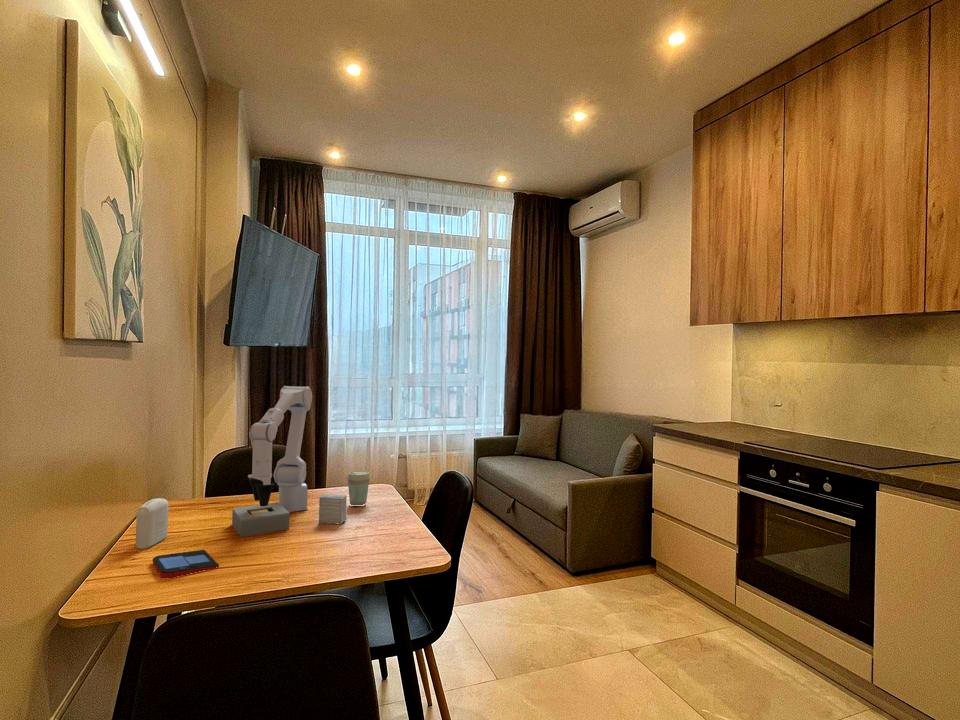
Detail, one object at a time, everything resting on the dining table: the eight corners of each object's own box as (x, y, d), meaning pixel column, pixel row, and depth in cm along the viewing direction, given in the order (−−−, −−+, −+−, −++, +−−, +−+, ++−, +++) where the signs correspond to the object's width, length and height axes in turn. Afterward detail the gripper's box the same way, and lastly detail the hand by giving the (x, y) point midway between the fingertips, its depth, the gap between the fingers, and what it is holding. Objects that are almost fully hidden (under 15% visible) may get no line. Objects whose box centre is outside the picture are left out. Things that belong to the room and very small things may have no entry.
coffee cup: (347, 502, 193) (348, 470, 193) (370, 501, 194) (371, 470, 194) (344, 508, 184) (345, 475, 185) (368, 508, 185) (369, 475, 185)
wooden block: (266, 524, 164) (266, 509, 164) (268, 527, 162) (268, 511, 162) (249, 527, 161) (249, 511, 161) (251, 530, 159) (252, 513, 159)
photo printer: (155, 536, 150) (156, 495, 151) (169, 537, 151) (171, 495, 151) (132, 549, 140) (133, 504, 140) (148, 549, 140) (149, 504, 140)
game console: (219, 569, 129) (220, 561, 129) (161, 583, 121) (161, 573, 121) (205, 553, 140) (205, 545, 140) (150, 564, 131) (151, 555, 131)
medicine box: (346, 520, 170) (347, 495, 170) (341, 525, 166) (342, 498, 166) (323, 519, 171) (324, 493, 171) (318, 523, 166) (319, 497, 166)
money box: (277, 517, 171) (277, 502, 171) (289, 529, 160) (289, 512, 160) (232, 524, 163) (232, 508, 163) (240, 537, 152) (241, 519, 152)
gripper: (243, 457, 165) (242, 499, 165) (253, 465, 154) (252, 510, 153) (266, 455, 169) (265, 496, 169) (278, 463, 158) (277, 507, 158)
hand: (261, 503), depth 162 cm, fingers open, 7 cm apart
